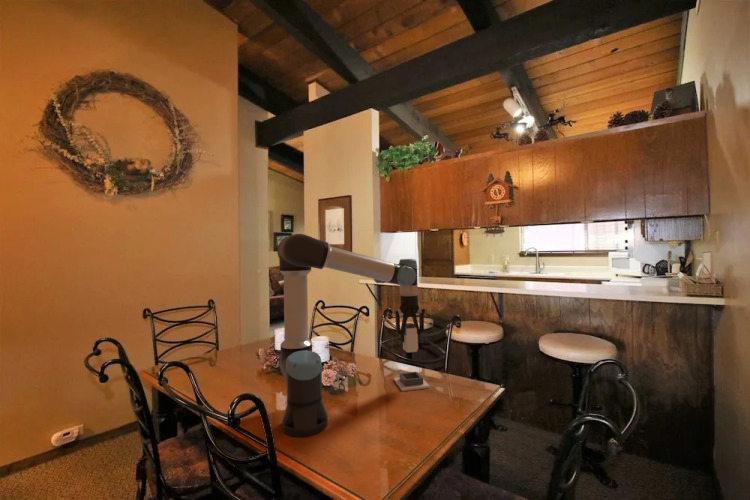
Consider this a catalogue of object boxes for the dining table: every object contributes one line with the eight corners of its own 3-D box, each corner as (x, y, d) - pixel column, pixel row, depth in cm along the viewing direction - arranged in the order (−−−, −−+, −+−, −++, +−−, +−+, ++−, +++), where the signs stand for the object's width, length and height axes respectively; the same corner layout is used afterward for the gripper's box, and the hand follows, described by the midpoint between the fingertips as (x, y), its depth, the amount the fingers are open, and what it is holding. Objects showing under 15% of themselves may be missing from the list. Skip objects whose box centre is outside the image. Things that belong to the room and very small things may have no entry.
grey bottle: (407, 352, 142) (406, 325, 142) (404, 349, 146) (403, 323, 146) (417, 351, 143) (416, 324, 143) (413, 348, 147) (413, 322, 147)
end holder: (402, 391, 138) (401, 382, 138) (393, 380, 149) (393, 372, 149) (429, 387, 140) (429, 379, 140) (419, 377, 152) (419, 369, 152)
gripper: (391, 297, 139) (393, 353, 139) (431, 294, 143) (433, 349, 143) (387, 294, 146) (388, 348, 146) (425, 292, 150) (426, 344, 150)
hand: (410, 348), depth 145 cm, fingers closed on grey bottle, 4 cm apart
